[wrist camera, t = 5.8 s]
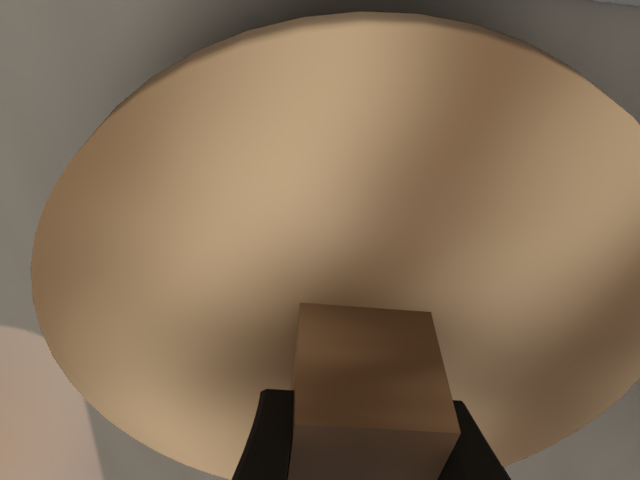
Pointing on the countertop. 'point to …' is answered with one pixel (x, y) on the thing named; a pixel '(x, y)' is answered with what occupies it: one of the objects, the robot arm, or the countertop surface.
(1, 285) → the countertop surface
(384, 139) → the lid
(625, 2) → the mat
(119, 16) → the countertop surface
